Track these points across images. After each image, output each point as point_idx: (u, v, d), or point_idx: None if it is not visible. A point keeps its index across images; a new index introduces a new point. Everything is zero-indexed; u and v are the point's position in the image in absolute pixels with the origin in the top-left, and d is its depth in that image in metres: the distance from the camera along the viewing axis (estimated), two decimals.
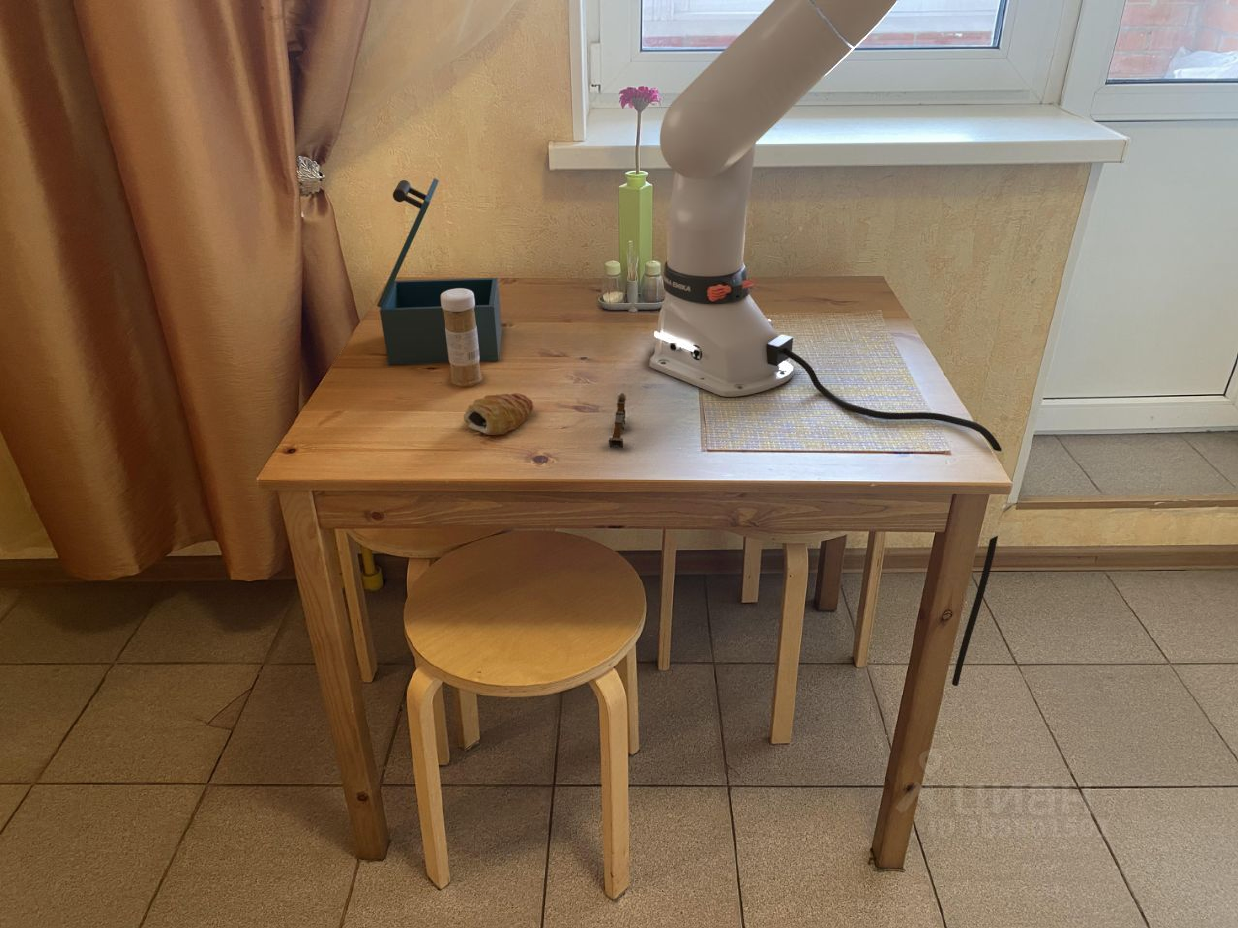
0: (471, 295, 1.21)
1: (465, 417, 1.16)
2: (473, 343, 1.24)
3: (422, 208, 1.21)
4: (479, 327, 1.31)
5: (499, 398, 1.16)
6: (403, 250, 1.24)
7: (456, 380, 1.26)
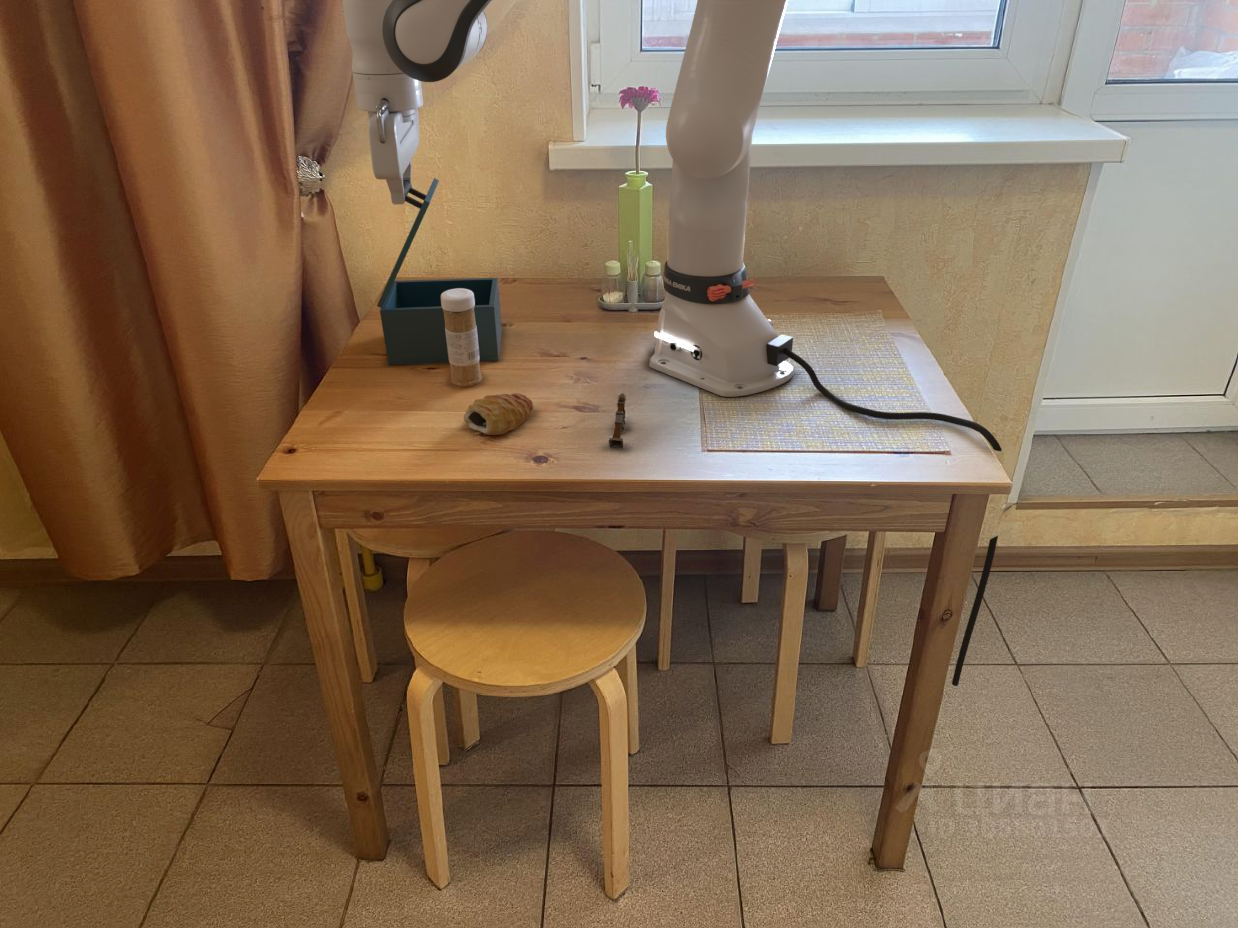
0: (471, 295, 1.21)
1: (465, 417, 1.16)
2: (473, 343, 1.24)
3: (422, 208, 1.21)
4: (479, 327, 1.31)
5: (499, 398, 1.16)
6: (403, 250, 1.24)
7: (456, 380, 1.26)
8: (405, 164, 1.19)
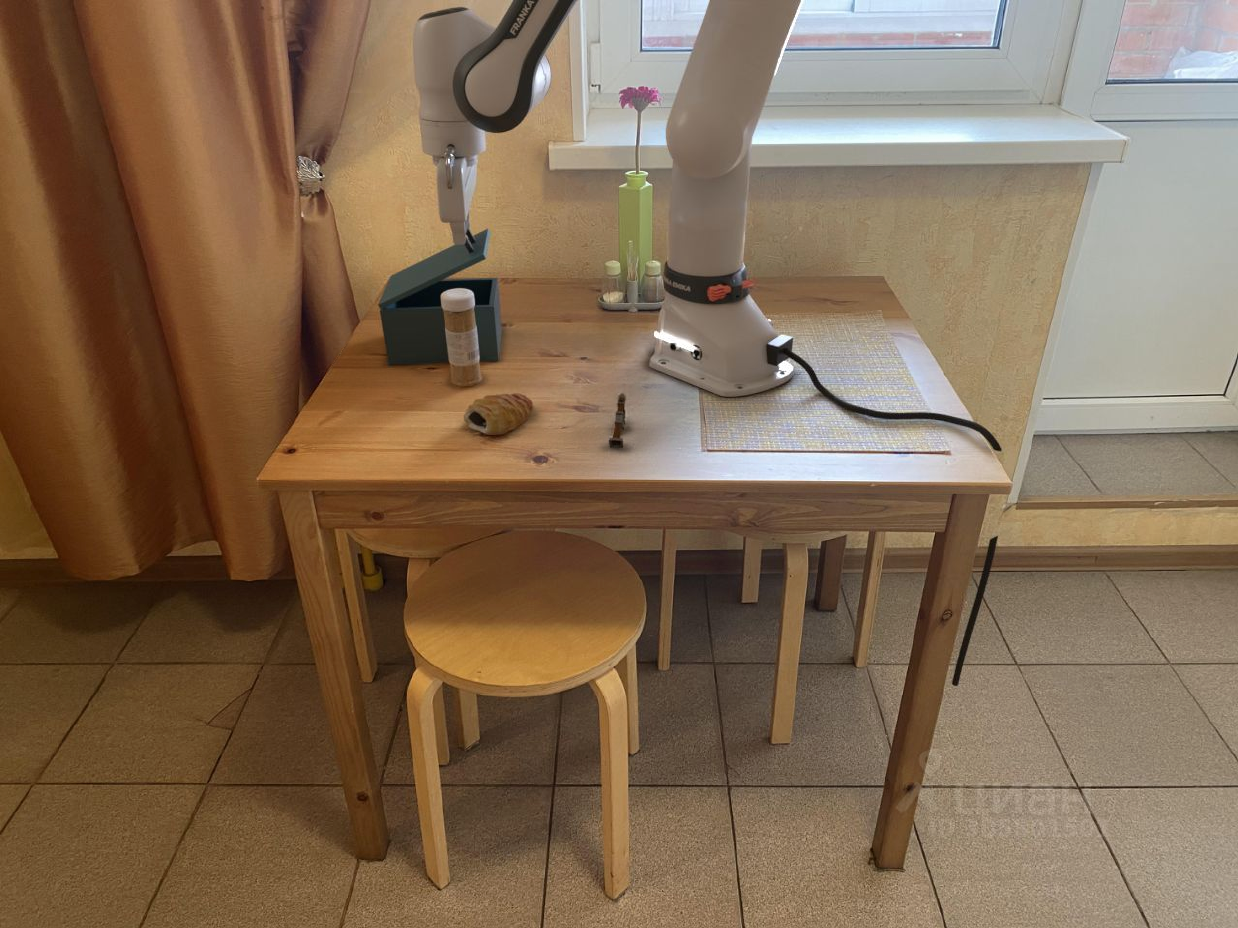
0: (471, 295, 1.21)
1: (465, 417, 1.16)
2: (473, 343, 1.24)
3: (476, 258, 1.26)
4: (479, 327, 1.31)
5: (499, 398, 1.16)
6: (435, 278, 1.27)
7: (456, 380, 1.26)
8: (468, 207, 1.23)
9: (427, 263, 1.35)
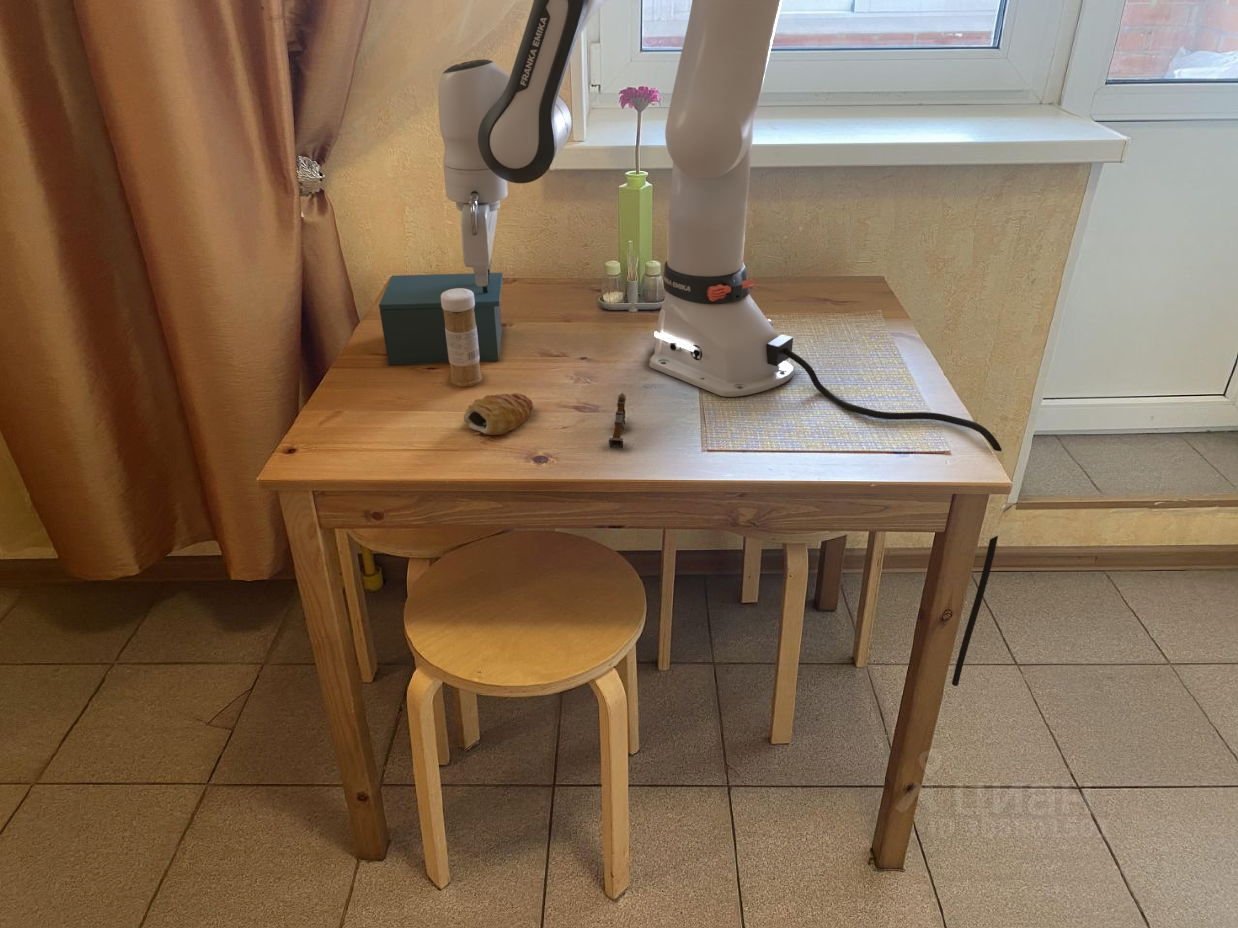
0: (471, 295, 1.21)
1: (465, 417, 1.16)
2: (473, 343, 1.24)
3: (491, 302, 1.29)
4: (479, 327, 1.31)
5: (499, 398, 1.16)
6: None
7: (456, 380, 1.26)
8: (491, 251, 1.26)
9: (434, 281, 1.36)
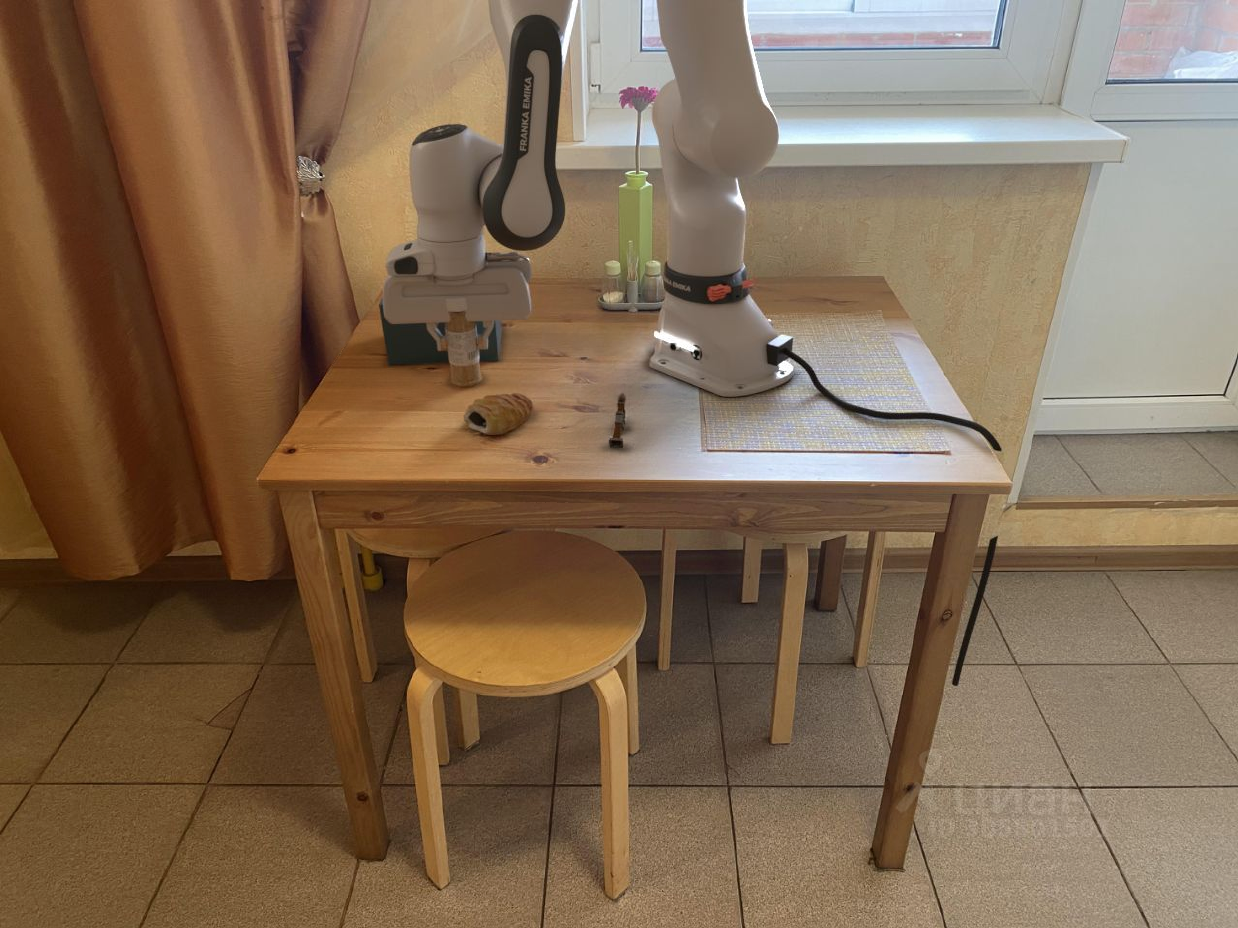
0: None
1: (465, 417, 1.16)
2: (473, 343, 1.24)
3: None
4: (479, 327, 1.31)
5: (499, 398, 1.16)
6: None
7: (456, 380, 1.26)
8: None
9: None
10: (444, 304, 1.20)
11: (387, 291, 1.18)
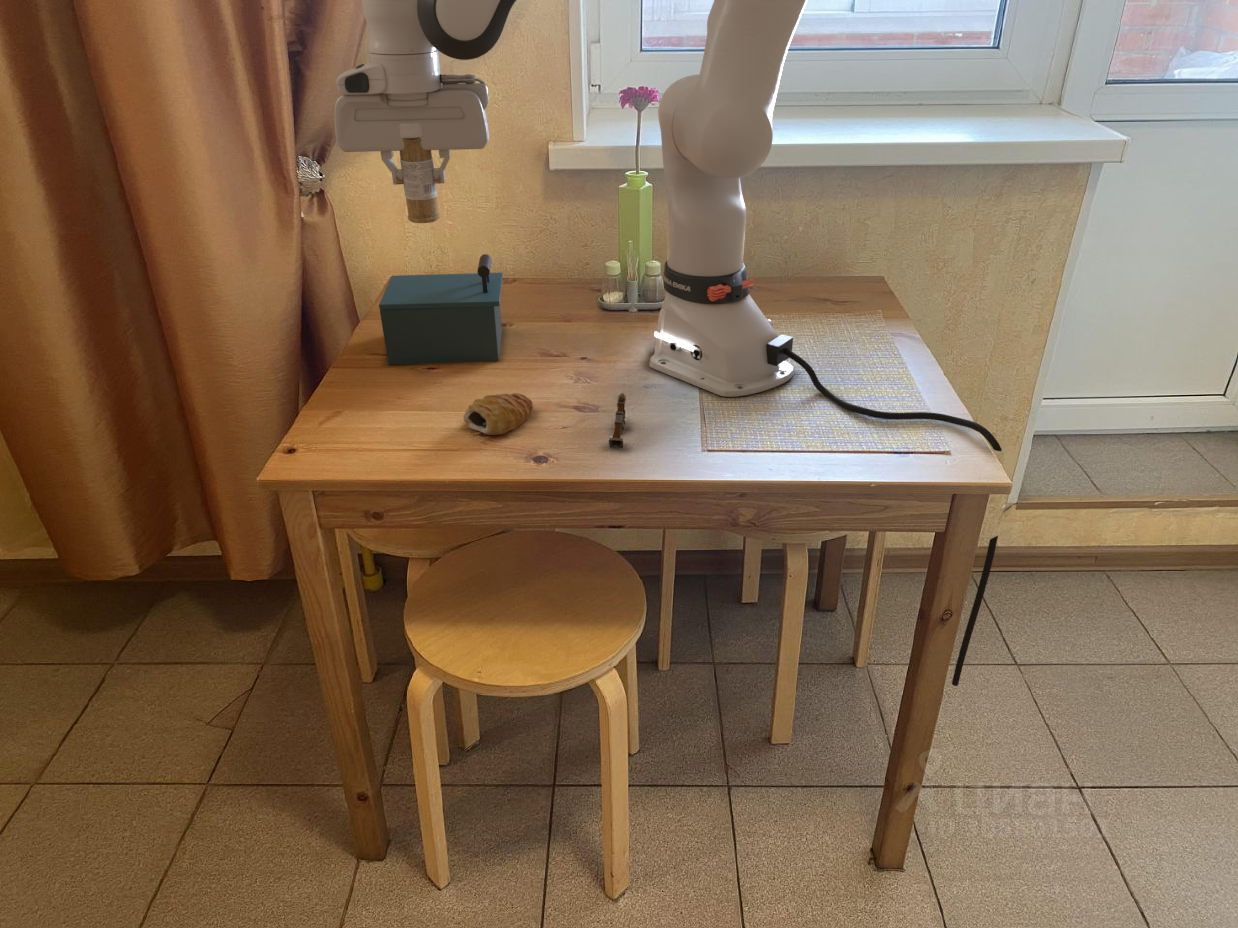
0: None
1: (465, 417, 1.16)
2: (429, 175, 1.21)
3: (491, 302, 1.29)
4: (479, 327, 1.31)
5: (499, 398, 1.16)
6: (444, 304, 1.29)
7: (413, 216, 1.23)
8: None
9: (434, 281, 1.36)
10: (398, 130, 1.17)
11: (338, 113, 1.15)
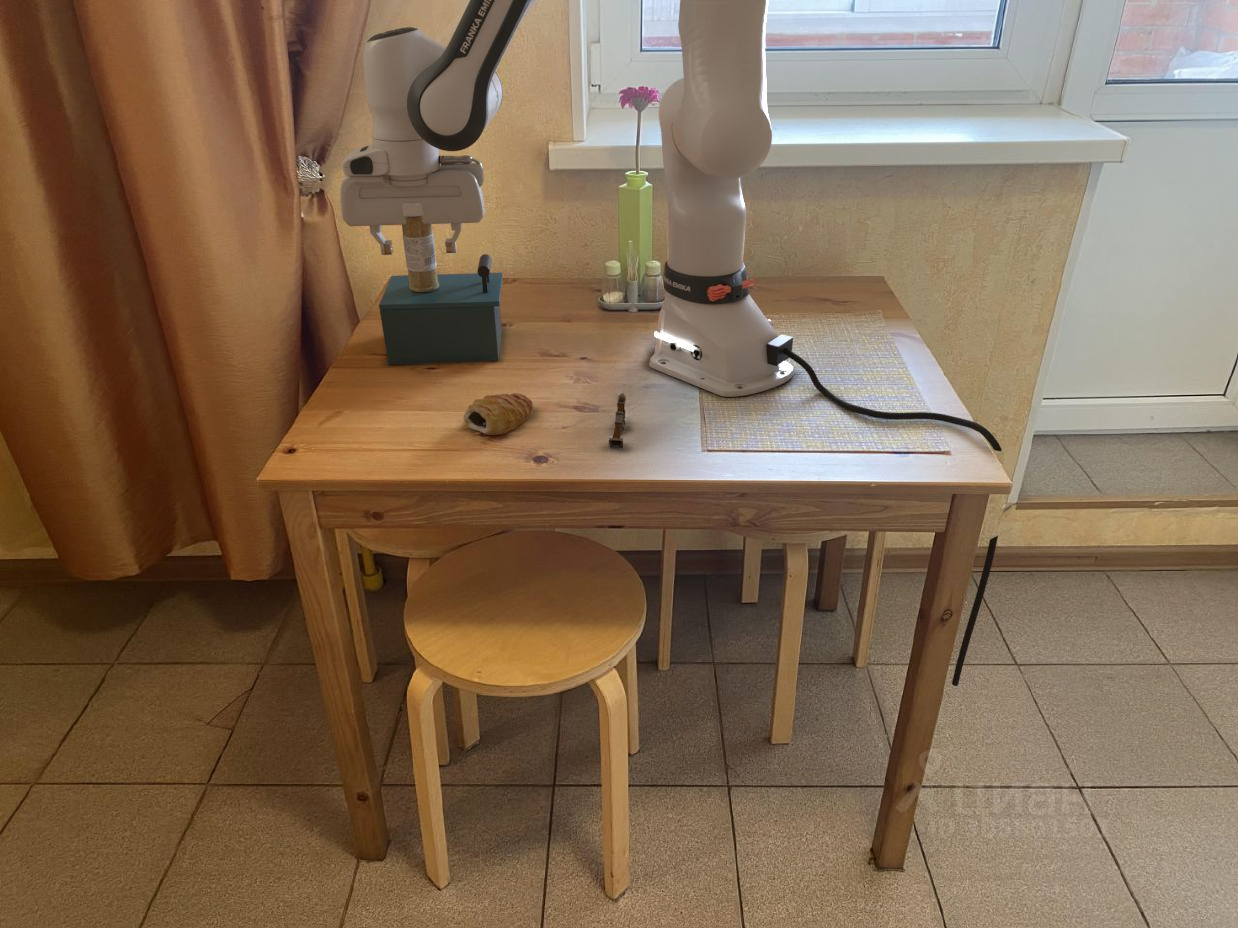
0: None
1: (465, 417, 1.16)
2: (429, 249, 1.29)
3: (491, 302, 1.29)
4: (479, 327, 1.31)
5: (499, 398, 1.16)
6: (444, 304, 1.29)
7: (414, 286, 1.32)
8: None
9: None
10: (400, 206, 1.25)
11: (344, 192, 1.23)
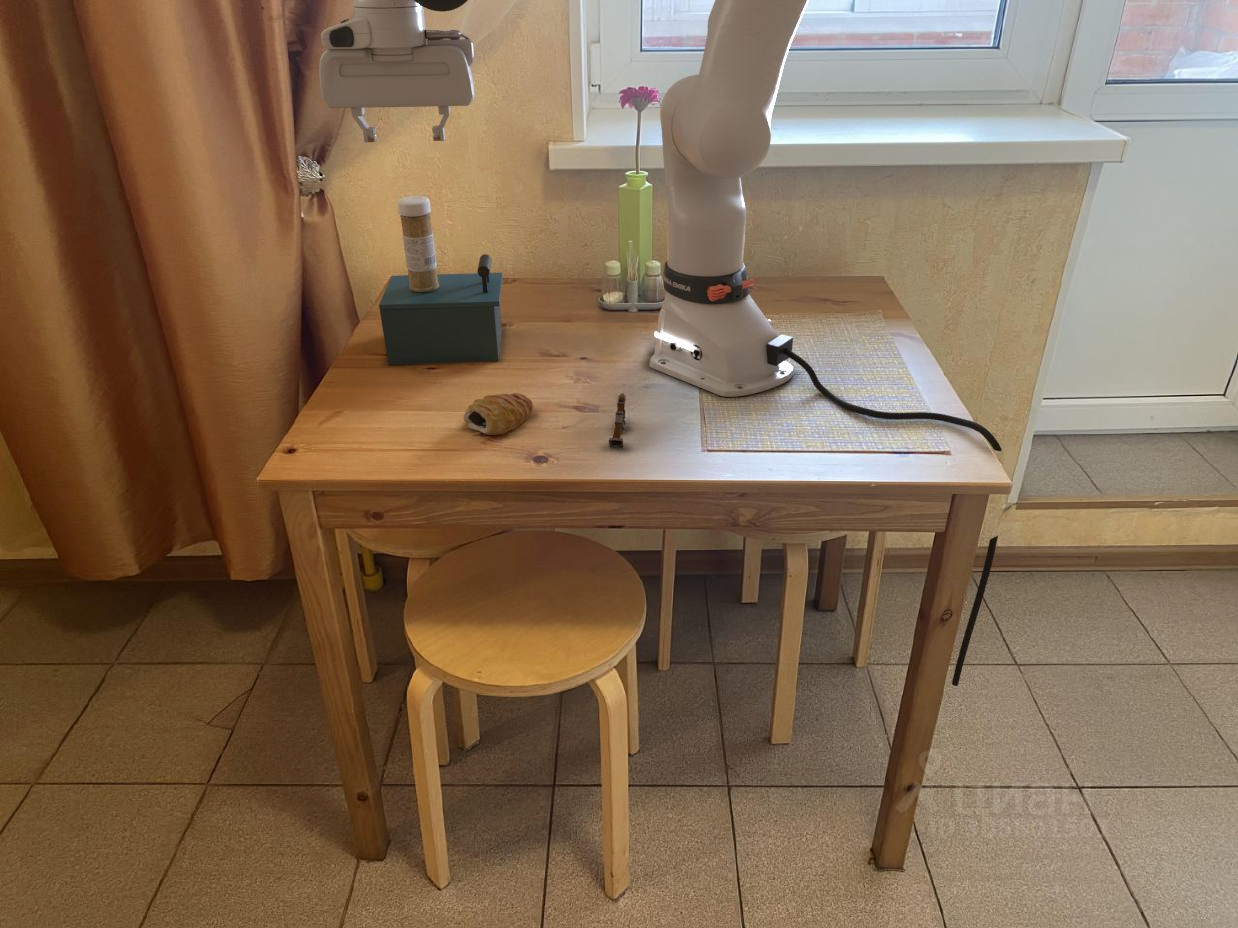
0: (427, 201, 1.26)
1: (465, 417, 1.16)
2: (429, 249, 1.29)
3: (491, 302, 1.29)
4: (479, 327, 1.31)
5: (499, 398, 1.16)
6: (444, 304, 1.29)
7: (414, 286, 1.32)
8: None
9: None
10: (383, 85, 1.17)
11: (323, 68, 1.15)
